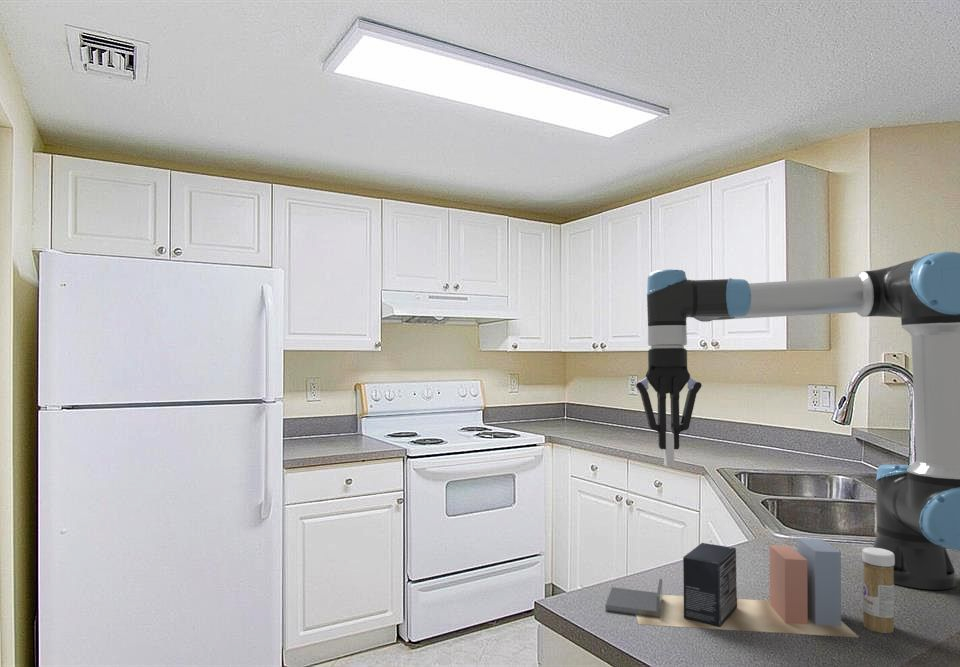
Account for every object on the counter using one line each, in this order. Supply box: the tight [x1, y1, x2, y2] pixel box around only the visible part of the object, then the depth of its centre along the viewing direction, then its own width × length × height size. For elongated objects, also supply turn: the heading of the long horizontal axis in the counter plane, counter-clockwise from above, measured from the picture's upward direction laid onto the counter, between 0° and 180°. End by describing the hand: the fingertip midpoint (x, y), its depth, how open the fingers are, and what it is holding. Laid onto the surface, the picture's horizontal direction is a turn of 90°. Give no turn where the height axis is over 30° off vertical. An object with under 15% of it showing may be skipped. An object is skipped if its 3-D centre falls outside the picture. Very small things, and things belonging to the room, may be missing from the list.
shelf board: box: [635, 594, 859, 638], centre depth 111 cm, size 34×14×1 cm, turn 83°
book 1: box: [768, 544, 808, 624], centre depth 111 cm, size 4×8×10 cm, turn 173°
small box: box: [682, 542, 738, 627], centre depth 112 cm, size 11×6×10 cm, turn 144°
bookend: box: [605, 578, 663, 618], centre depth 115 cm, size 4×9×9 cm
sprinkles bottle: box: [861, 546, 895, 634], centre depth 106 cm, size 5×5×13 cm
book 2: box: [796, 537, 842, 626], centre depth 111 cm, size 4×8×12 cm, turn 173°
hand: (669, 465), depth 130 cm, fingers closed
